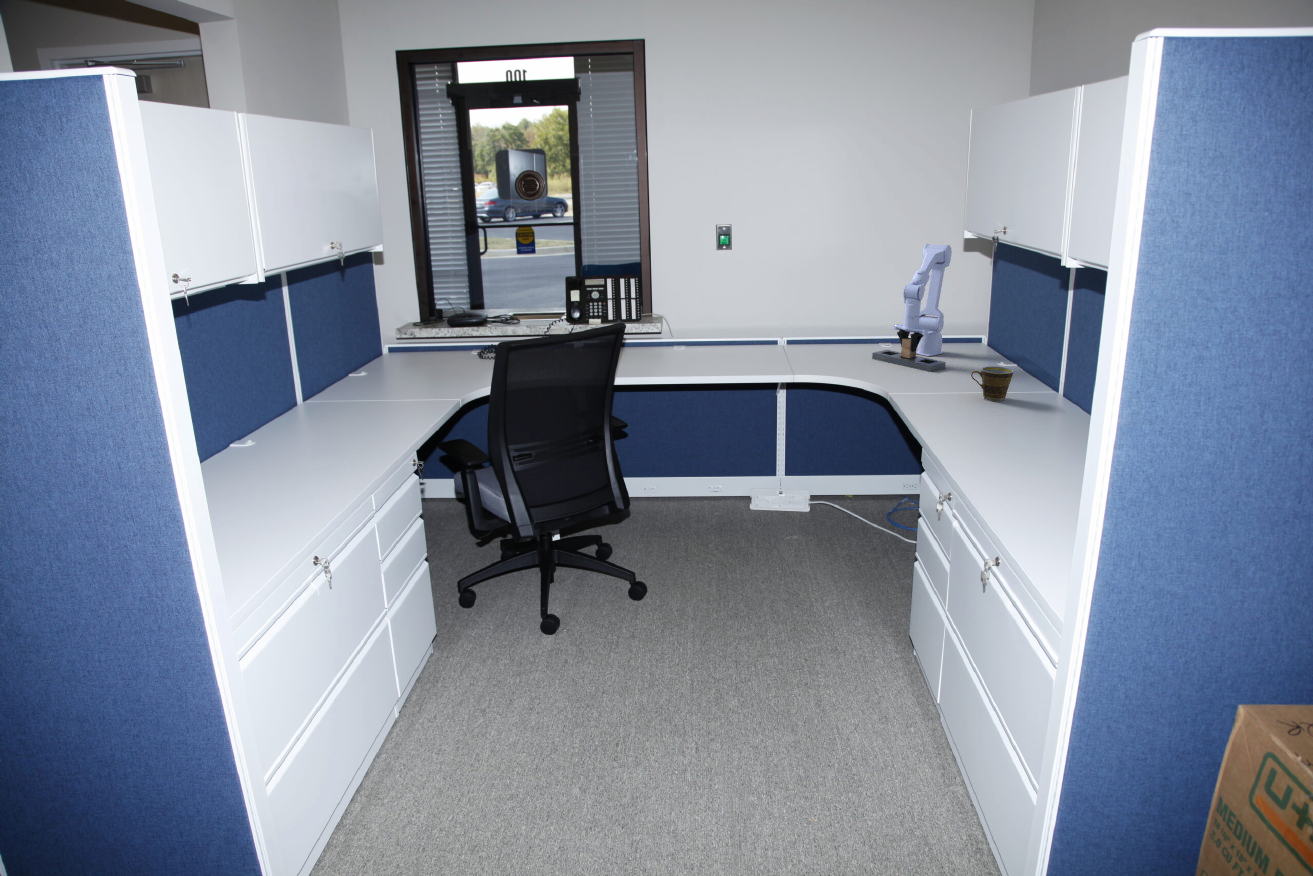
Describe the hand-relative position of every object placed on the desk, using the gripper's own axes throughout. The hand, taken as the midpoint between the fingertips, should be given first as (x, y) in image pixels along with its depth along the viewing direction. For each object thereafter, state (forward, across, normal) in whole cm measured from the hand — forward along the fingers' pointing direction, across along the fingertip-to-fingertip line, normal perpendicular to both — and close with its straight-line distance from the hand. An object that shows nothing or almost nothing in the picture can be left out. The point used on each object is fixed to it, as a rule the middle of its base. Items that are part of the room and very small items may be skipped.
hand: (908, 350), depth 331 cm
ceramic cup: (+6, +49, -20) cm, 53 cm away
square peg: (+2, 0, 0) cm, 2 cm away
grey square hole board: (+5, 0, 0) cm, 5 cm away
